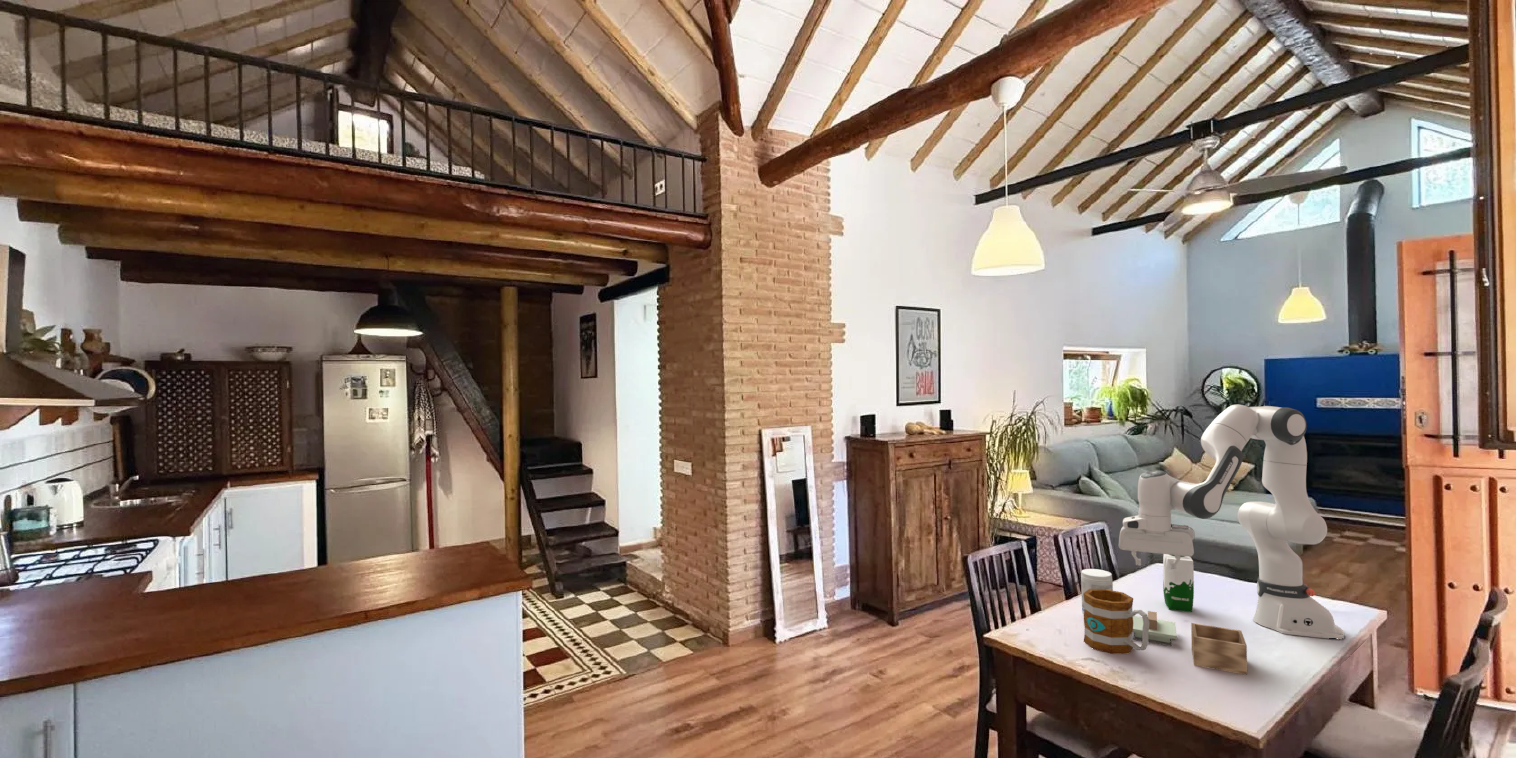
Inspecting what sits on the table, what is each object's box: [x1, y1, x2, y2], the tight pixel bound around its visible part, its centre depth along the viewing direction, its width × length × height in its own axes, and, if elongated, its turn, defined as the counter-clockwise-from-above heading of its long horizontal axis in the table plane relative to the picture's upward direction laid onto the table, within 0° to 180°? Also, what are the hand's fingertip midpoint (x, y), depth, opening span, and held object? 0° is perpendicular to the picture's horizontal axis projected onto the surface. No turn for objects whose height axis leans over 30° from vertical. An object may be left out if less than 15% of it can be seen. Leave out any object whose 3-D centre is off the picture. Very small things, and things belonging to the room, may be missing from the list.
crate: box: [1190, 622, 1248, 676], centre depth 185 cm, size 12×12×8 cm
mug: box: [1083, 589, 1149, 655], centre depth 195 cm, size 20×14×15 cm
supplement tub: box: [1080, 568, 1114, 615], centre depth 222 cm, size 10×10×15 cm
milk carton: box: [1162, 554, 1195, 613], centre depth 228 cm, size 9×9×20 cm
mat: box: [1133, 632, 1173, 647], centre depth 204 cm, size 10×12×1 cm
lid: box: [1132, 610, 1178, 643], centre depth 204 cm, size 12×12×6 cm
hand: (1155, 566), depth 204 cm, fingers open, 8 cm apart
